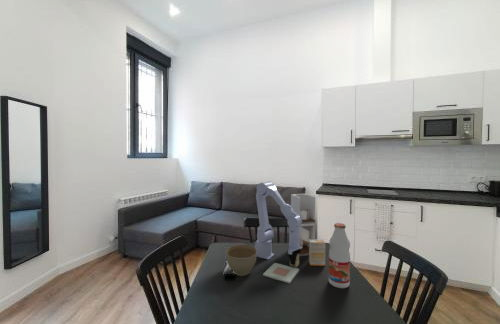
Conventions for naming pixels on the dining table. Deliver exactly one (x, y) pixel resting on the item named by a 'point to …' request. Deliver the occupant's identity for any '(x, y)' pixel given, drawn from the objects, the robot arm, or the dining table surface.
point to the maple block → (296, 262)
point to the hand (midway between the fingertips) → (294, 262)
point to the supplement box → (316, 252)
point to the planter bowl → (241, 259)
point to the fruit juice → (339, 257)
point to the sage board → (281, 272)
